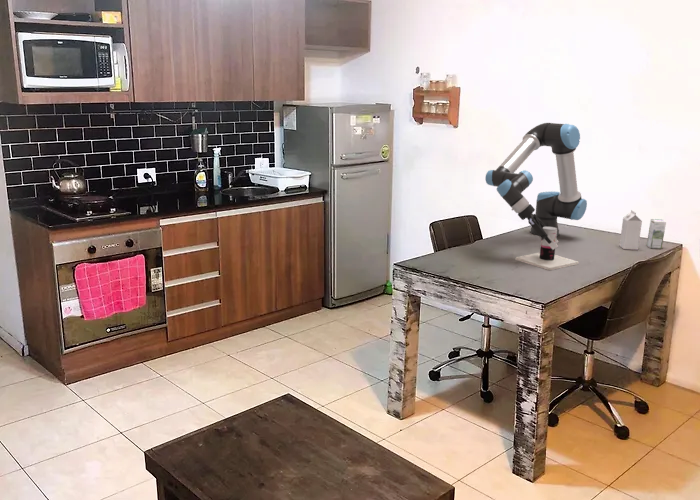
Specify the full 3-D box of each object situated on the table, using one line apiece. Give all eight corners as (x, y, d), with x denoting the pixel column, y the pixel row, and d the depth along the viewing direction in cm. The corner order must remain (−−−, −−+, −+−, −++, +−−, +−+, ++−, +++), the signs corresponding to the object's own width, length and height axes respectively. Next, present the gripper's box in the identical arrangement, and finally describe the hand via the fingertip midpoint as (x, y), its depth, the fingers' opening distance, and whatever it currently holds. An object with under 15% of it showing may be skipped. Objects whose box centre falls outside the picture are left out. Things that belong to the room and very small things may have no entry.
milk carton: (633, 246, 332) (638, 210, 327) (638, 250, 325) (643, 213, 320) (619, 245, 333) (624, 209, 328) (623, 249, 326) (628, 212, 321)
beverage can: (554, 261, 297) (558, 230, 293) (539, 260, 298) (543, 229, 294) (553, 258, 303) (556, 226, 299) (538, 257, 304) (541, 226, 300)
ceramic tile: (515, 259, 303) (515, 257, 303) (543, 254, 314) (544, 251, 314) (549, 270, 287) (549, 267, 287) (578, 264, 298) (578, 261, 298)
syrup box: (657, 246, 334) (662, 218, 330) (662, 249, 328) (666, 221, 324) (646, 245, 334) (650, 218, 330) (650, 248, 329) (654, 220, 325)
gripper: (519, 209, 310) (550, 245, 309) (514, 218, 290) (548, 256, 289) (531, 199, 307) (563, 235, 306) (528, 207, 287) (561, 246, 286)
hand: (555, 245), depth 298 cm, fingers open, 8 cm apart
